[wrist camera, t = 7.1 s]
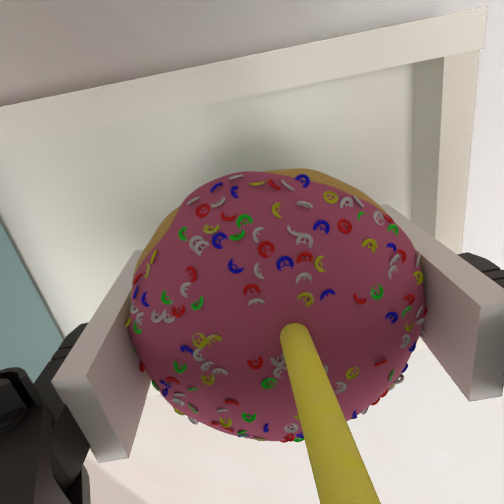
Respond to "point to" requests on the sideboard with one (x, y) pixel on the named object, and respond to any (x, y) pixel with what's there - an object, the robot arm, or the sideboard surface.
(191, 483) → the sideboard surface
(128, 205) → the white shallow tray
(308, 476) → the sideboard surface
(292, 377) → the cupcake
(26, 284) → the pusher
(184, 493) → the sideboard surface
